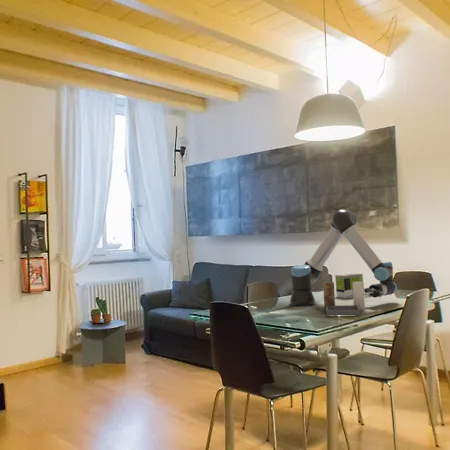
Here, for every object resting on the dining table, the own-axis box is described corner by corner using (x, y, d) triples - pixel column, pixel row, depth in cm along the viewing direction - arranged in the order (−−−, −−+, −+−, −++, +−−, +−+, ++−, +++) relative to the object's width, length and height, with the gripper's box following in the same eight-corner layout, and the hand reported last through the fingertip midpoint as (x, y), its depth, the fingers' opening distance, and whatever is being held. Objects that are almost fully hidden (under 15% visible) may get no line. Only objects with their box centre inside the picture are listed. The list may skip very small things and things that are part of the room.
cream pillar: (354, 310, 275) (352, 282, 275) (353, 308, 280) (352, 281, 281) (365, 310, 273) (364, 282, 274) (364, 308, 279) (363, 281, 279)
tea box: (355, 294, 336) (354, 272, 336) (364, 296, 326) (363, 273, 327) (336, 296, 330) (335, 274, 330) (344, 298, 321) (343, 275, 321)
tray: (326, 316, 258) (326, 310, 258) (326, 311, 275) (326, 305, 275) (360, 316, 255) (360, 310, 255) (358, 310, 272) (357, 305, 272)
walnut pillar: (324, 309, 279) (323, 283, 280) (324, 308, 285) (323, 282, 286) (335, 309, 278) (334, 282, 279) (335, 308, 284) (333, 281, 284)
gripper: (397, 298, 279) (374, 303, 265) (359, 295, 298) (337, 299, 285) (396, 285, 279) (374, 289, 265) (358, 282, 298) (336, 286, 285)
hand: (354, 294), depth 275 cm, fingers open, 13 cm apart
